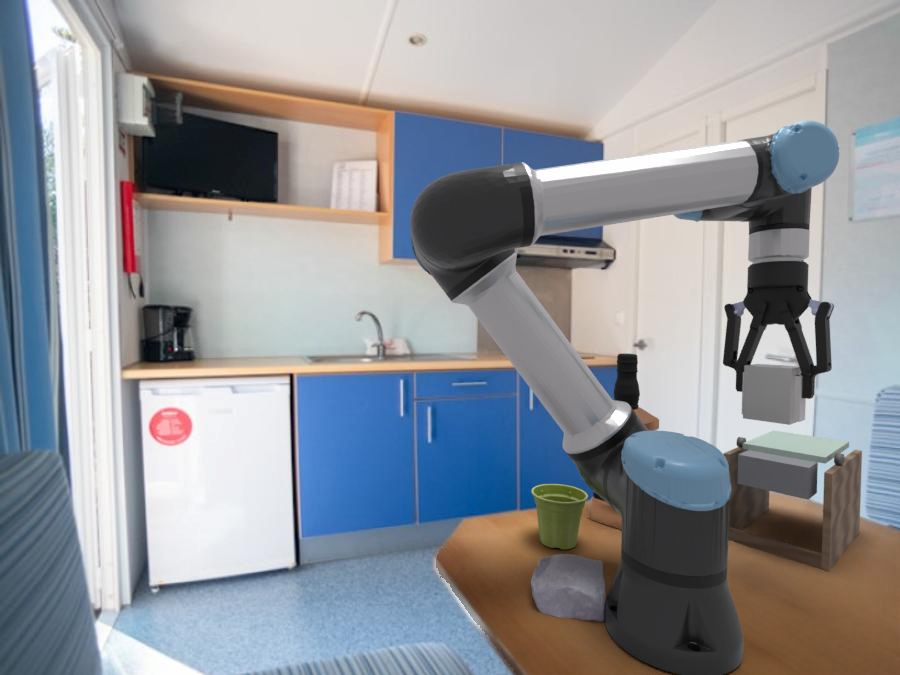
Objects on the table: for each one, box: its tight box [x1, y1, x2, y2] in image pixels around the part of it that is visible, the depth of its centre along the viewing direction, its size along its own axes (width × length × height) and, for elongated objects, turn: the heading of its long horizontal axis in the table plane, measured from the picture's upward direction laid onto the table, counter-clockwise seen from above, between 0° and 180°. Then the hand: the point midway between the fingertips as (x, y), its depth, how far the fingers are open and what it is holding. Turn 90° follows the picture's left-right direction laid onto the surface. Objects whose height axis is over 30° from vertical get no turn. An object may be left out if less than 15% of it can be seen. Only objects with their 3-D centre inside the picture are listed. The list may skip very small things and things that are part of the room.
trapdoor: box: [738, 430, 850, 500], centre depth 87 cm, size 22×12×6 cm, turn 131°
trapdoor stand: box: [723, 436, 863, 572], centre depth 88 cm, size 22×15×17 cm
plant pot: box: [531, 483, 589, 551], centre depth 84 cm, size 9×9×9 cm
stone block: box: [530, 553, 606, 623], centre depth 68 cm, size 12×5×10 cm
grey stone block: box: [742, 363, 801, 426], centre depth 73 cm, size 6×6×8 cm
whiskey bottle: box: [588, 353, 660, 531], centre depth 94 cm, size 10×10×32 cm
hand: (772, 416), depth 73 cm, fingers closed on grey stone block, 6 cm apart
